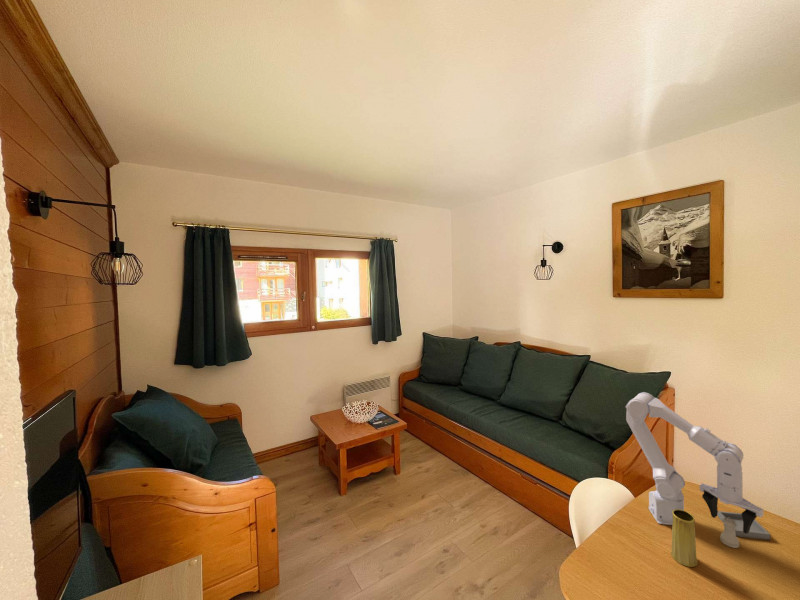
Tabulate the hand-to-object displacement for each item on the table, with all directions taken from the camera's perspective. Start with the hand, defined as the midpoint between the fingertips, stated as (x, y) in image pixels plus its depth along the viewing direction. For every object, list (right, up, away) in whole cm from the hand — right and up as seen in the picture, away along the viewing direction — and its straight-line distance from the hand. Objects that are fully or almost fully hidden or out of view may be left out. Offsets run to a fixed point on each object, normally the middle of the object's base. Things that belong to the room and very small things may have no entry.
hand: (729, 523), depth 105 cm
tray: (+10, -5, +6) cm, 13 cm away
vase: (-18, -9, -4) cm, 20 cm away
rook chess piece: (0, -7, +1) cm, 7 cm away
